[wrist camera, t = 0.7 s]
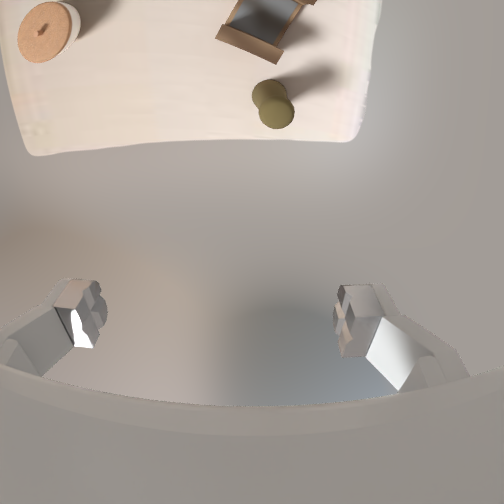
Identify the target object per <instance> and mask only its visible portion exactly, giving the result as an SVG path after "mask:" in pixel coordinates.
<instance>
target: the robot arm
mask: <svg viewBox="0 0 504 504" xmlns="http://www.w3.org/2000/svg"><path fill="white" fill-rule="evenodd" d="M100 292H101V288H100V285H99V283H98V282H97V281H95V280H82V279H70V278H62V279H60V280H59V281H58V282H57V284H56V285H55V286H54V288H53V289H52V290H51V292H50V293H49V295H48V296H47V297H46V299H45V300H44V301H43V303H42V304H41V305H37V306H36V307H34V308H32V309H30V310H29V311H27V312H26V313H24V314H22V315H21V316H19V317H17V318H16V319H14V320H13V321H11V322H9V323H8V324H6V325H5V326H3V327H2V328H0V504H504V366H501V367H499V368H496V369H493V370H490V371H487V372H484V373H480V374H477V375H474V376H471V377H470V375H469V374H468V372H467V370H466V368H465V366H464V364H463V362H462V360H461V358H460V356H459V354H458V352H457V350H456V349H454V348H453V347H451V346H450V345H449V344H447V343H446V342H444V341H443V340H441V339H440V338H438V337H437V336H436V335H434V334H433V333H431V332H430V331H428V330H427V329H425V328H424V327H422V326H421V325H419V324H418V323H416V322H415V321H413V320H412V319H410V318H409V317H407V316H406V315H401V314H400V312H399V311H398V309H397V307H396V305H395V303H394V301H393V299H392V297H391V295H390V294H389V292H388V290H387V288H386V286H385V285H384V284H383V283H377V284H368V285H340V287H339V289H338V293H337V296H338V299H339V302H338V303H337V304H336V305H335V306H334V311H333V326H334V331H335V333H336V334H337V335H339V340H338V345H339V349H340V353H341V356H342V358H344V357H362V356H366V358H367V359H368V360H369V361H370V362H371V363H372V364H373V365H374V366H375V367H376V368H377V369H378V370H379V371H380V372H381V373H382V375H383V376H385V378H386V379H387V380H388V381H389V382H390V383H391V384H392V385H393V386H394V387H395V388H396V389H397V390H398V392H397V394H394V395H388V396H382V397H375V398H369V399H361V400H353V401H344V402H335V403H325V404H312V405H294V406H249V407H248V406H215V405H199V404H185V403H175V402H166V401H158V400H149V399H143V398H135V397H129V396H123V395H117V394H112V393H107V392H101V391H96V390H92V389H86V388H82V387H78V386H74V385H70V384H66V383H62V382H58V381H54V380H51V379H47V378H44V377H42V376H43V375H44V374H45V373H46V372H47V371H48V370H49V369H50V368H51V367H53V365H55V364H56V363H57V362H58V361H59V360H60V359H61V358H62V357H63V356H65V355H66V354H67V353H68V352H69V351H70V350H71V349H72V348H73V347H74V346H80V347H88V348H94V346H95V343H96V341H97V339H98V337H99V335H100V334H99V331H98V329H100V328H101V327H103V326H104V324H105V322H106V320H107V313H108V312H107V305H106V302H105V300H104V299H103V298H102V297H101V296H100Z"/></svg>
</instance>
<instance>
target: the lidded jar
mask: <svg viewBox="0 0 504 504" xmlns="http://www.w3.org/2000/svg"><path fill="white" fill-rule="evenodd" d="M80 26H81V19H80V15H79V13H78V11H77V10H76V9H75V8H74V7H73V6H71V5H70V4H67V3H63V2H45V3H42V4H39V5H38V6H36V7H34V8H33V9H32V10H31V11H30V12H29V13H28V14H27V15H26V16H25V18H24V19H23V21H22V23H21V25H20V28H19V32H18V47H19V50H20V52H21V54H22V56H23V57H24V58H25V59H27V60H28V61H30V62H33V63H42V62H46V61H48V60H50V59H52V58H54V57H56V56H58V55H60V54H61V53H63V52H64V51H65V50H67V49H68V48H69V47H70V46H71V45H72V44H73V42H74V41H75V39H76V38H77V36H78V34H79V31H80Z"/></svg>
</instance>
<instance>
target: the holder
mask: <svg viewBox="0 0 504 504" xmlns="http://www.w3.org/2000/svg"><path fill="white" fill-rule="evenodd" d="M316 1H317V0H238V2H237V4H236V5H235V7H234V9H233V11H232V12H231V14H230V16H229V18H228V19H227V21H226V23H225V25H224V24H222V26H221V28H220V30H219V32H218V34H217V35H216V37H215V39H218V40H220V41H223V42H225V43H228V44H230V45H233V46H235V47H238V48H240V49H243V50H245V51H247V52H250V53H252V54H254V55H256V56H259V57H261V58H263V59H265V60H267V61H269V62H271V63H273V64H277V62H278V61H279V59H280V57H281V56H282V54H283V52H284V51H283V50H281V49H279V48H277V47H276V46H277V45H278V43H279V41H280V40H281V38H282V36H283V35H284V33H285V32H286V30H287V28H288V27H289V25H290V24H291V22H292V20H293V19H294V17H295V16H296V14H297V13H298V11H299V10H300V8H301V7H302V5H306V4H311V5H314V4H315V2H316Z"/></svg>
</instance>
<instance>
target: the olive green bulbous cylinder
mask: <svg viewBox="0 0 504 504" xmlns="http://www.w3.org/2000/svg"><path fill="white" fill-rule="evenodd" d="M252 99H253V102H254V104H255V105H256V107H257V108H258V109H259V116H260V119H261V121H262V122H263V123H264V124H265V125H266V126H268V127H270V128H272V129H281V128H284V127H286V126H288V125H289V124H290V123H291V122H292V120H293V118H294V113H295V111H294V106H293V105H292V103H291V101H290V100H288V99H287V93H286V90H285V88H284V86H283V85H282V84H281V83H279V82H277V81H275V80H265V81H262V82H260V83H258V84H257V85H256V86H255V87H254V90H253V92H252Z"/></svg>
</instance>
